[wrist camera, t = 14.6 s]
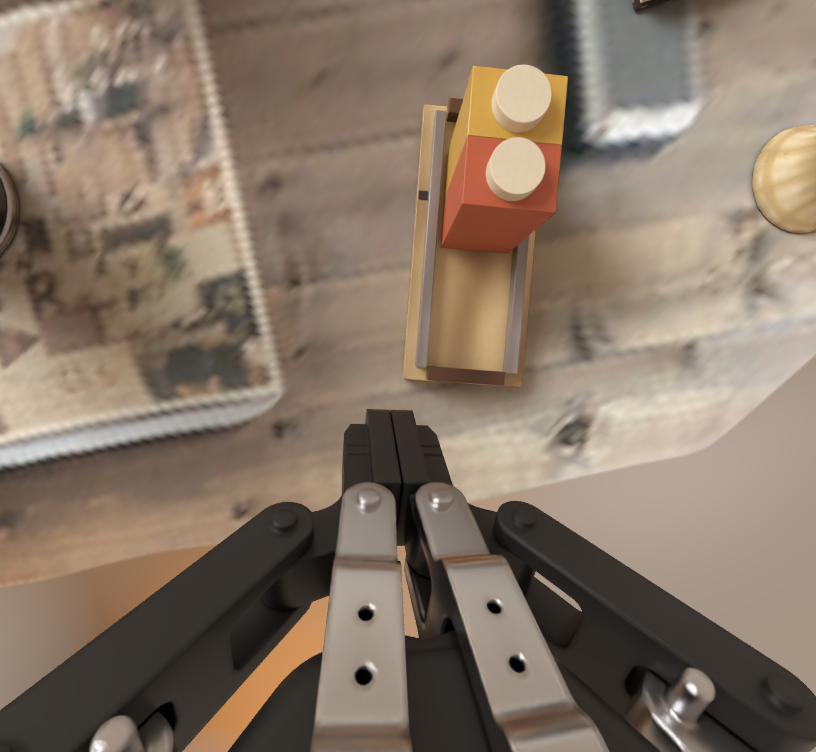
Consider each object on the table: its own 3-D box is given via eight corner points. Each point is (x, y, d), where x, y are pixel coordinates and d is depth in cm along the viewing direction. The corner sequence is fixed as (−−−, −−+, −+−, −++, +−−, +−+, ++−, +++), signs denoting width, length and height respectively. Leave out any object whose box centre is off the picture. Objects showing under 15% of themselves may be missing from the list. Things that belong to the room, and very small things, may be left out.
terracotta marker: (440, 247, 31) (465, 196, 21) (444, 199, 31) (471, 124, 21) (507, 253, 31) (564, 206, 21) (511, 205, 31) (570, 135, 21)
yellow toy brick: (444, 199, 31) (471, 124, 21) (448, 150, 31) (477, 51, 21) (511, 205, 31) (570, 135, 21) (516, 157, 31) (576, 62, 21)
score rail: (402, 377, 33) (403, 379, 30) (422, 115, 32) (425, 93, 29) (516, 386, 33) (527, 388, 31) (538, 127, 33) (552, 107, 30)
